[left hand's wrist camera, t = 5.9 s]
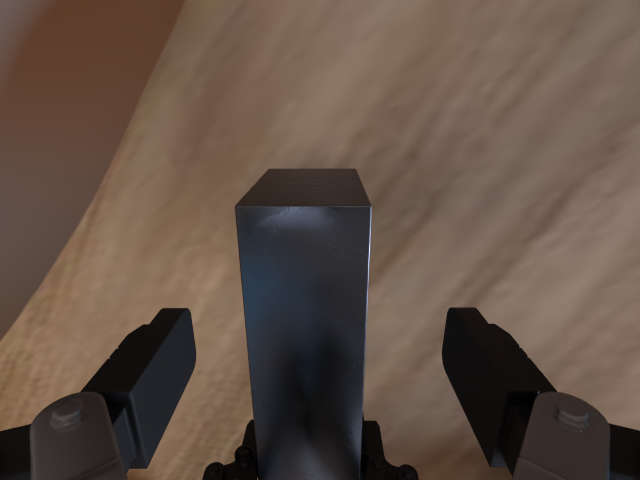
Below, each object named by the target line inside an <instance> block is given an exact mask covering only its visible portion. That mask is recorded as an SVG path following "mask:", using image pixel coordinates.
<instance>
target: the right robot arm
mask: <svg viewBox="0 0 640 480" xmlns="http://www.w3.org/2000/svg"><path fill="white" fill-rule="evenodd" d="M257 477H258V480H259V472H258V461H257V450H256V438H255V427H254V420H251V421H250V422H249V423H248V425H247V427H246V432H245V435H244V439H243V443H242V446H240V447H239V448H237V450H236V451H235V461H234V462H232V463H230V464H227V465H224V466H223V464H221V463H219V462H214V463H212V464H210V465H209V466H208V467H207V468H206V469H205V472H204V475H203V479H202V480H257ZM360 480H419V479H418V474H417V471H416V470H415V469H414V467H412V466H410V465H407V464H406V465H402V466H400V467H396V466H393V465H391V464H390V463H388V462H387V461H386V459H385V457H384V452H383V445H382V439H381V433H380V426H379V425H378V423H377V422H376V421H364V417H363V416H362V438H361V461H360Z"/></svg>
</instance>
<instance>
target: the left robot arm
mask: <svg viewBox="0 0 640 480" xmlns="http://www.w3.org/2000/svg"><path fill="white" fill-rule="evenodd" d="M442 360H443V366H444V369H445V372H446V374H447V376H448V378H449V380H450V382H451V385H452V387H453V389H454V391H455V393H456V395H457V397H458V399H459V402H460V404H461V406H462V408H463V410H464V412H465V414H466V416H467V419H468V421H469V423H470V425H471V427H472V429H473V431H474V434H475V436H476V438H477V440H478V442H479V444H480V446H481V448H482V451H483V453H484V455H485V457H486V459H487V461H488V463H489V466H490V467H508V469H509V471H510V472H511V474H512V476H513V478H512V480H640V431H639V430H635V429H630V428H626V427H622V426H617V425H613V424H609V423H608V422H607V420H606V419H605V417H604V416H603V415H602V414H601V413H600V412H599V411H598V410H597V409H595V408H594V407H593V406H591V405H590V404H588V403H587V402H585V401H583V400H581V399H579V398H577V397H574V396H572V395H569V394H565V393H561V392H557V391H556V389H555V388H554V387H553V386H552V385H551V383H550V382H549V381H548V380H547V379H546V377H545V376H544V375H543V374H542V372H541V371H540V370H539V369H538V368H537V366H536V365H535V364H534V363H533V362H532V360H531V359H530V358H528V357H527V354H526V353H525V352H524V351H523V349H522V348H519V345H518V343H517V342H516V341H515V340H514V339H513V337H512V336H511V335H510V334H509V333H508V332H506V331H505V330H503V329H502V328H500V327H499V326H497V325H496V324H488V322H487V321H486V320H485V319H484V317H483V316H482V315H481V313H480V312H479V311H478V310H477V309H476V308H449V310H448V312H447V318H446V325H445V333H444V340H443V347H442ZM195 362H196V347H195V340H194V333H193V325H192V318H191V313H190V310H189V309H188V308H162V309H161V310H160V311H159V312H158V314H157V315H156V316H155V318H154V319H153V320H152V322H151V323H150V324H143V325H142V326H140V327H139V328H137V329H136V330H134V331H133V332H131V333H130V334H128V335H127V336H126V338H125V339H124V340H123V341H122V342H121V344H120V345H119V346H118V349H116V350H115V351H114V352H113V353H112V354H111V356H110V359H107V360H106V362H105V363H104V364H103V365H102V366H101V368H100V369H99V370H98V371H97V372H96V374H95V375H94V376H93V377H92V378H91V380H90V381H89V382H88V383H87V384H86V386H85V387H84V388H83V389H82V390H81V392H79V393H75V394H71V395H68V396H66V397H63V398H61V399H59V400H57V401H55V402H53V403H52V404H50V405H49V406H47V407H46V408H45V409H43V410H42V411H41V412H40V413H39V414H38V415H37V416H36V417H35V419H34V420H33V422H32V424H29V425H25V426H21V427H17V428H12V429H8V430H4V431H0V480H128V478H127V472H128V470H129V469H147V467H148V465H149V463H150V461H151V459H152V457H153V455H154V453H155V451H156V448H157V446H158V444H159V442H160V440H161V438H162V436H163V434H164V432H165V430H166V427H167V425H168V423H169V421H170V419H171V417H172V415H173V413H174V411H175V408H176V406H177V404H178V402H179V400H180V398H181V396H182V394H183V392H184V390H185V387H186V385H187V383H188V381H189V379H190V377H191V375H192V373H193V370H194V367H195Z"/></svg>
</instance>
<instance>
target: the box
mask: <svg viewBox="0 0 640 480" xmlns="http://www.w3.org/2000/svg"><path fill="white" fill-rule="evenodd" d="M371 212H372V206H371V204H370V201H369V199H368V197H367V194H366V192H365V189H364V187H363V185H362V182H361V180H360V178H359V175H358V173H357V170H356V169H268V170H267V171H266V173H265V174H264V175H263V176H262V177H261V178H260V179H259V180H258V181H257V182H256V183H255V185H254V186H253V187H252V188H251V189H250V190H249V191H248V192H247V193H246V194H245V195H244V197H243V198H242V199H241V200H240V201H239V202H238V203H237V204H236V205H235V214H236V225H237V237H238V248H239V259H240V270H241V281H242V293H243V304H244V315H245V326H246V337H247V349H248V360H249V371H250V382H251V394H252V405H253V416H254V427H255V438H256V450H257V461H258V472H259V480H360V461H361V438H362V416H363V393H364V370H365V348H366V325H367V302H368V280H369V257H370V234H371Z"/></svg>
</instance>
